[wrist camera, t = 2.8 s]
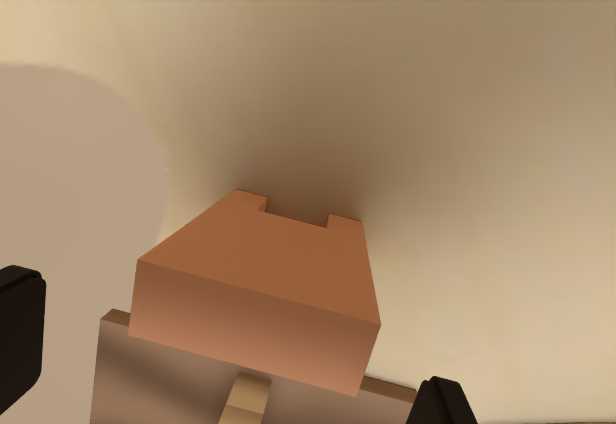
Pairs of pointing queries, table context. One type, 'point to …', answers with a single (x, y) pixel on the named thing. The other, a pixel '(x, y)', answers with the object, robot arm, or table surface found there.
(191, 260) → the notched plate
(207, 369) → the slotted stand
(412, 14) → the table surface
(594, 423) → the decorative tile
